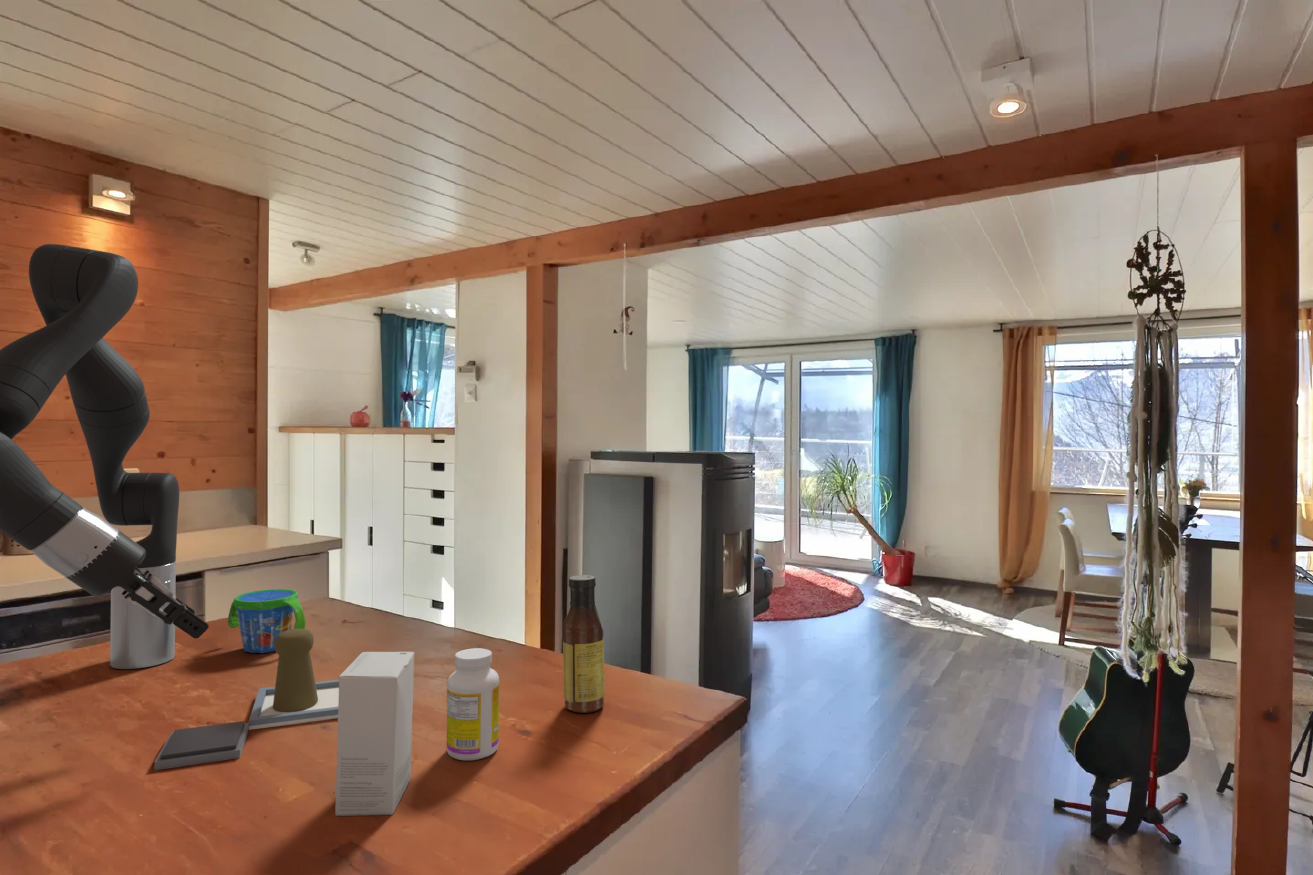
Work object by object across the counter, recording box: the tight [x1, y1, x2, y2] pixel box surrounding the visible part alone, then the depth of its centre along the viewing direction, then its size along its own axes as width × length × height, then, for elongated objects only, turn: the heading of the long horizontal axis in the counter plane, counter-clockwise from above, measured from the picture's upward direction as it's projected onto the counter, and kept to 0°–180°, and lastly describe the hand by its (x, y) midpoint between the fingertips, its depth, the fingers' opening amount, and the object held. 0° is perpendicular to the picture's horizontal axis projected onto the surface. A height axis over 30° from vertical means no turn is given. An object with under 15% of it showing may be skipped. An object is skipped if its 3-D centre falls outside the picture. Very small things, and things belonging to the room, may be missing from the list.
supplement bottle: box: [446, 647, 500, 762], centre depth 93 cm, size 7×7×13 cm
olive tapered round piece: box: [273, 628, 318, 712], centre depth 106 cm, size 6×6×11 cm
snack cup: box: [227, 588, 306, 654], centre depth 134 cm, size 16×10×10 cm
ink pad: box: [154, 720, 250, 771], centre depth 92 cm, size 9×9×2 cm
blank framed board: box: [248, 679, 339, 731], centre depth 107 cm, size 13×13×1 cm
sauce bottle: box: [562, 574, 606, 714], centre depth 108 cm, size 7×6×20 cm
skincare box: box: [334, 651, 415, 817], centre depth 81 cm, size 8×7×16 cm
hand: (196, 624), depth 97 cm, fingers open, 8 cm apart
